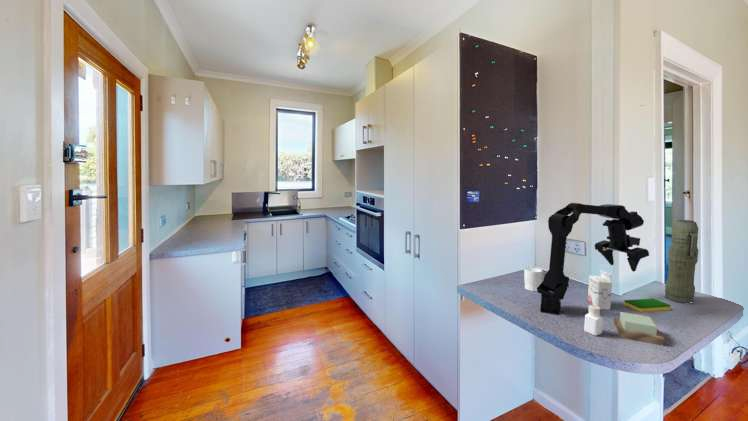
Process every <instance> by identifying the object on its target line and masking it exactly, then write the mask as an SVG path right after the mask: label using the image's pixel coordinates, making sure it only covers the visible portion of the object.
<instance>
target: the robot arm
mask: <svg viewBox="0 0 748 421" xmlns="http://www.w3.org/2000/svg"><path fill="white" fill-rule="evenodd" d="M581 214H586V215H589V214H590V215H598V216H600V217H603V218H605V221H603V223H602V226H604V227H607V232H608V236H606V239H607V240H605V239H604V240H601V241H598V242H595V244H594V250H595V251H597V252H598V253H600V254H601V255H602V256H603V257H604V258H605V260H606V261H607V263H608V264H609V265H610V266H614V251H616V252H620V253H621V252H622V253H625V254H626V257H627V258H626V259H627V262H628V265H629V267H630V270H631V272H633V273H634V272H636V270H637V268H638V265H639V262H640V260H641V259H644V258H647V257H649V256H650V251H649V250H648V249H646V248H643V247H640V243H641V238H640V237H635V236H631V235H630V234H627V231H630V230H634V229H637V228H641V227H642V226H643V225H644V222H645V221H644V219H643V218H642V216H641V215H639V214H638V211H628V209H626V206H625V205H621V204H610V203H609V204H600V205H593V204H584V203H581V202H580V203H578V202H570V203H568V204H567V205H566V206H564V207H563V208H561V209H559V210H557V211H556V212H554V213H553V214H551V215H550V216H549V217H548V220H547V223H548V224H547V225H548V231H549V232H550V234H551V245H550V257H549V266H548V267H549V269H548V270H547V271H546V273H545V274H544V277H543V280H542V281H541V284H540V285H539V286H538V287H537V293H538V294H540V295H541V296H540V307H539V308H540V310H539V311H540V312H541V313H548V314H551V315H552V314H553V315H558V316H559V315H560V312H561V308H562V307H561V306H562V304H561V303H562V302H561V300H564V298H565V295H566V293H567V291H568V288H569V282H570V277H569V276H567V275H565V273H564V268H565V259H566V258H565V256H566V248H567V247H566V245H567V238H568V236H569V235H570V234H571V233H572V230H573V228H574V227H573V226H574V225H575V224H576V223H577V222H578V221H579V220H580V216H581ZM606 218H608V219H606ZM610 219H611V220H610ZM634 246H637V247H634ZM632 247H634V248H632ZM631 248H632V249H631Z"/></svg>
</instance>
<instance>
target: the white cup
mask: <svg viewBox="0 0 748 421" xmlns="http://www.w3.org/2000/svg"><path fill="white" fill-rule="evenodd" d="M523 276H524V277H523V278H524V279H523V280H524V289H525V290H526V289H527V291H529V290H530V292H534V291H537V287H538V286H539V285H540V284H541V283H542V282H543V280H542V278H543V269H541V268H539V267H534V266H526V267H524V268H523ZM537 292H538V291H537Z"/></svg>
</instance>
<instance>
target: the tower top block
mask: <svg viewBox="0 0 748 421" xmlns="http://www.w3.org/2000/svg"><path fill="white" fill-rule="evenodd" d="M619 318H620V321H621V323H622V325H623V327H624V329H625V330H629V331H634V332H639V333H645V334H650V335H656V333H657V329H658V326H657V325H656V323H655V322H654V320H653V319H652V318H651V316H648V315H641V314H636V313H635V314H634V313H628V312H623V311H620V313H619Z"/></svg>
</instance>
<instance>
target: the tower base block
mask: <svg viewBox="0 0 748 421" xmlns="http://www.w3.org/2000/svg"><path fill="white" fill-rule="evenodd" d="M613 326H614V328H615V330H616V332H617V335H618V336H619V338H621V339H626V340H631V341H636V342H640V343H647V344H652V345H656V346H661V345H663V346H662V347H664V346H665V338H664V336H663V335H662V333H661V332H660V331H659V328H657V333H656V335H650V334H645V333H639V332H634V331H629V330H625V329H624V327H623V325H622V323H621V321H620V317H615V316H614V317H613Z"/></svg>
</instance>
